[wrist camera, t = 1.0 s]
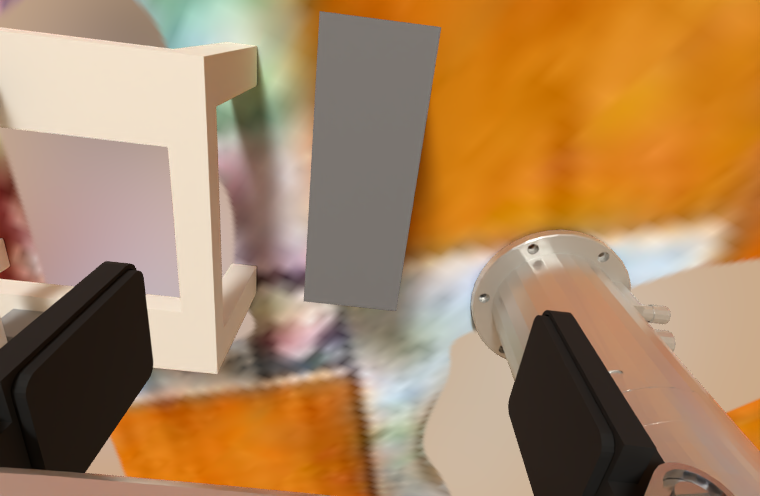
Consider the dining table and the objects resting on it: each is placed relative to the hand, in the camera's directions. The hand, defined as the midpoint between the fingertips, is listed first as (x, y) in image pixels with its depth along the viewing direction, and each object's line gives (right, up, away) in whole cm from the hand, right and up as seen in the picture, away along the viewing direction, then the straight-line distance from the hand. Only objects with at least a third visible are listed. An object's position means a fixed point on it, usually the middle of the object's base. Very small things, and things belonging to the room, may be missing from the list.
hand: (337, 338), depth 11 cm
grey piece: (0, +11, +22) cm, 24 cm away
